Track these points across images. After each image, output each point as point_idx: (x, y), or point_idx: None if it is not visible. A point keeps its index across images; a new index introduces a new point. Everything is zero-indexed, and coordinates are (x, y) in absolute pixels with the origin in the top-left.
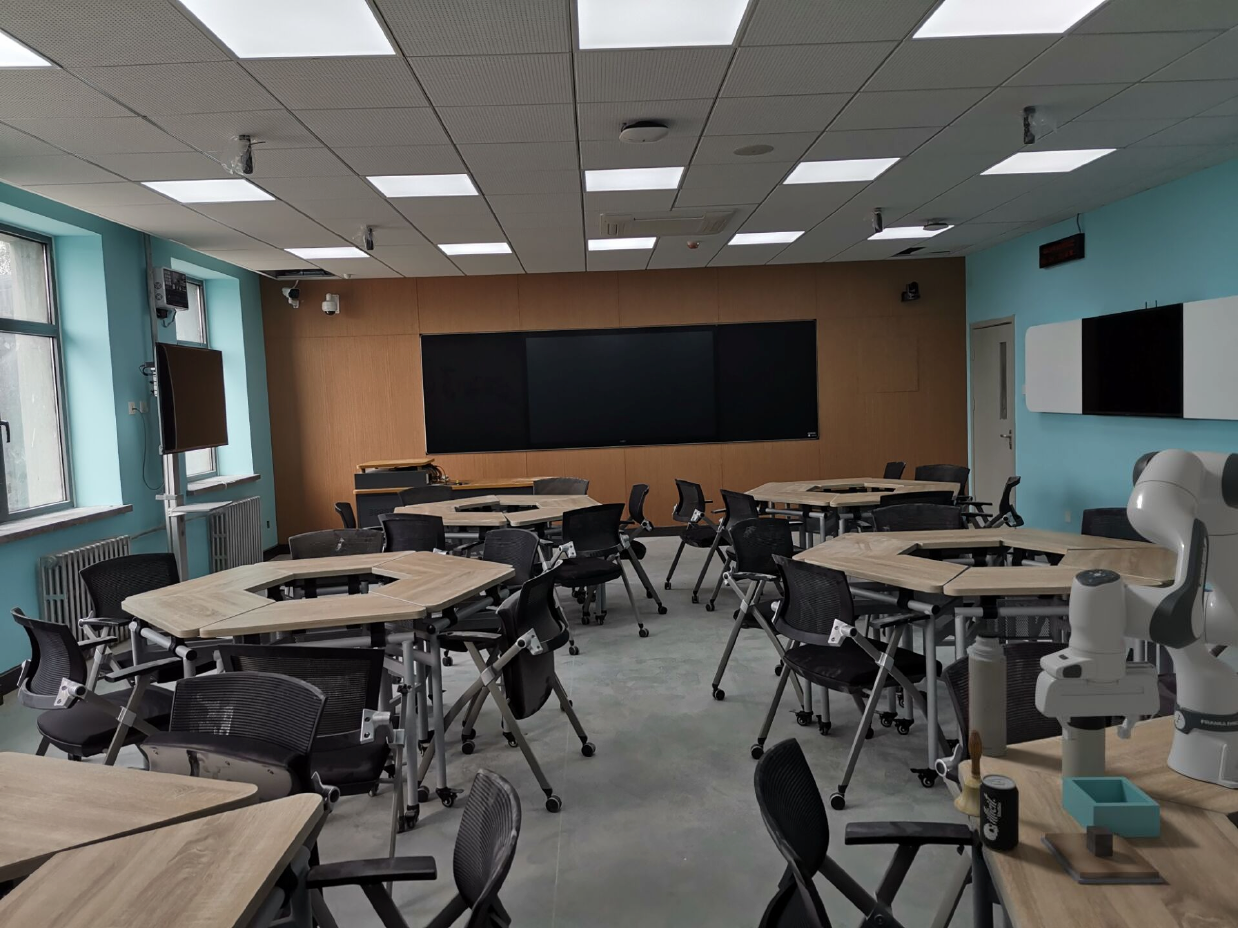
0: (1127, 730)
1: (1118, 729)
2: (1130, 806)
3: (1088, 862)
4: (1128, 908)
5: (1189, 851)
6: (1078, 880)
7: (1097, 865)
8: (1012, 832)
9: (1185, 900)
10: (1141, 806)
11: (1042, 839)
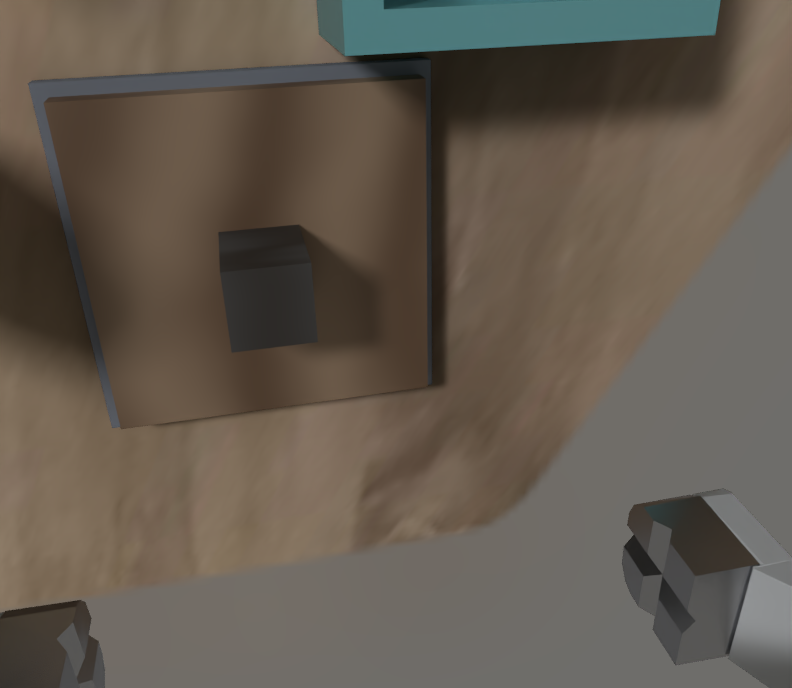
0: (725, 644)
1: (671, 578)
2: (557, 43)
3: (181, 356)
4: (237, 530)
5: (659, 148)
6: (113, 426)
7: (211, 373)
8: None
9: (439, 463)
10: (615, 40)
11: (34, 103)
